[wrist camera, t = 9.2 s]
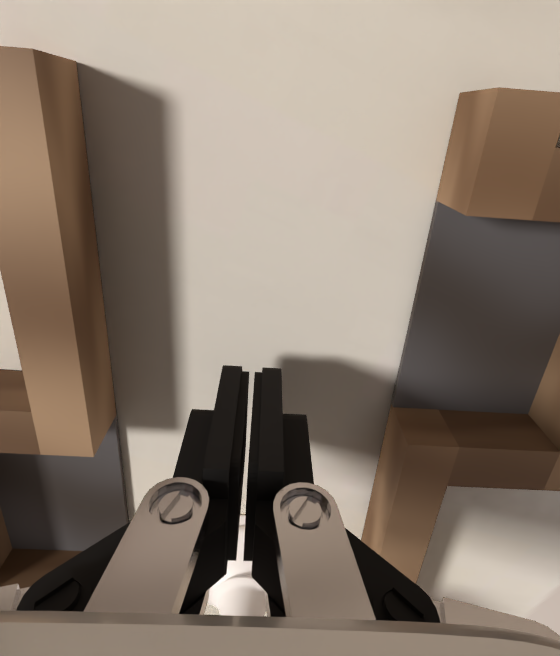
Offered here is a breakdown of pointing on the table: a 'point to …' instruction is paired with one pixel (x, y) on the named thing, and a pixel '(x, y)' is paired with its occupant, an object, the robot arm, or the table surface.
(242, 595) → the chess piece
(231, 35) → the table surface
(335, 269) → the table surface
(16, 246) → the trap lane
